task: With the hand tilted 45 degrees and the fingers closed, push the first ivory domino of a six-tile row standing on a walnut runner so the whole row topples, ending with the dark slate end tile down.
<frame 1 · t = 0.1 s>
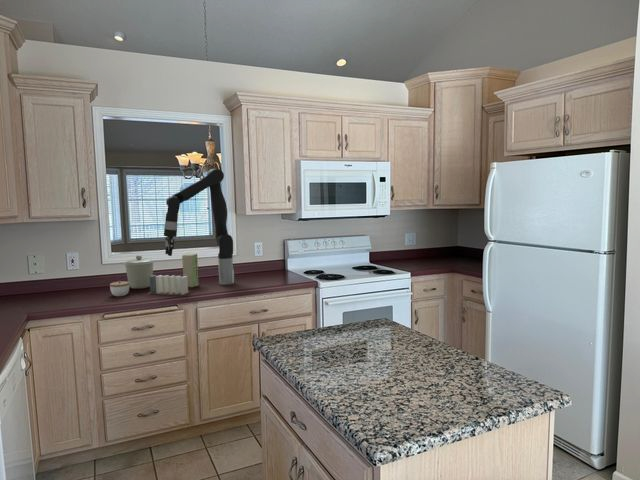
hand: (168, 254, 278), 22 cm above the counter, tool pointing down, fingers open, 8 cm apart
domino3: (172, 292, 271), point 1 cm above the counter, touching runner
runner: (169, 293, 272), on the counter
domino1: (184, 293, 269), point 1 cm above the counter, touching runner
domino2: (178, 292, 270), point 1 cm above the counter, touching runner
lidded jar: (120, 296, 268), on the counter
canister: (140, 287, 291), on the counter
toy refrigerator: (191, 286, 291), on the counter
domino6: (154, 291, 275), point 1 cm above the counter, touching runner
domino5: (160, 292, 274), point 1 cm above the counter, touching runner
domino4: (166, 292, 273), point 1 cm above the counter, touching runner
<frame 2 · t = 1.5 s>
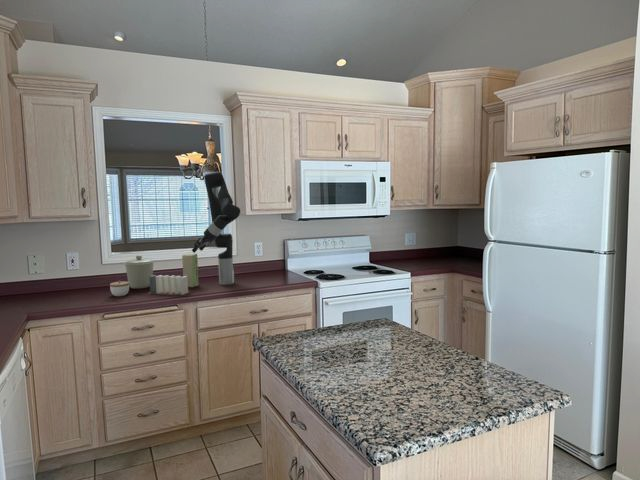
hand: (196, 250, 264), 27 cm above the counter, tool tilted 45°, fingers open, 7 cm apart
nothing on the counter moved.
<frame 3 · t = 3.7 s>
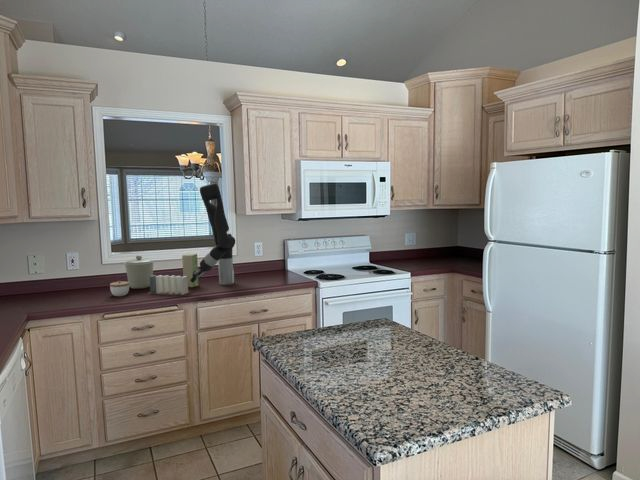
hand: (191, 281, 267), 8 cm above the counter, tool tilted 45°, fingers closed
nothing on the counter moved.
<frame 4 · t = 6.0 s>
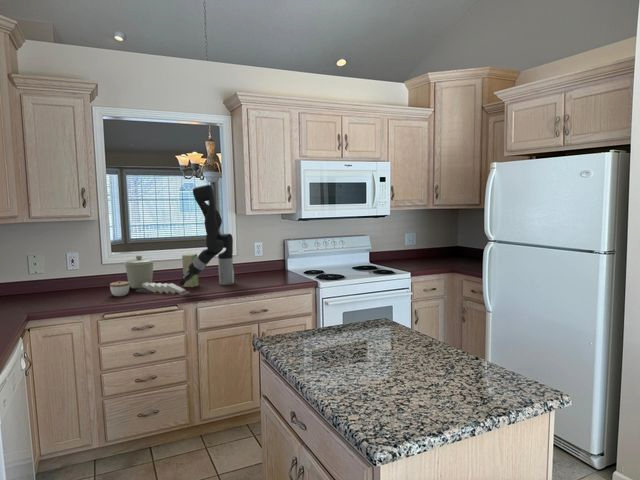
hand: (181, 284, 269), 6 cm above the counter, tool tilted 45°, fingers closed
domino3: (170, 291, 272), point 1 cm above the counter, tilted 68°, touching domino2, domino4, runner
domino1: (182, 291, 270), point 1 cm above the counter, tilted 68°, touching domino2
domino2: (176, 291, 271), point 1 cm above the counter, tilted 68°, touching domino1, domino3, runner
domino6: (152, 290, 275), point 1 cm above the counter, tilted 94°, touching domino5, runner
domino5: (158, 290, 274), point 1 cm above the counter, tilted 68°, touching domino4, domino6
domino4: (164, 291, 273), point 1 cm above the counter, tilted 68°, touching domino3, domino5, runner
everything else where it was.
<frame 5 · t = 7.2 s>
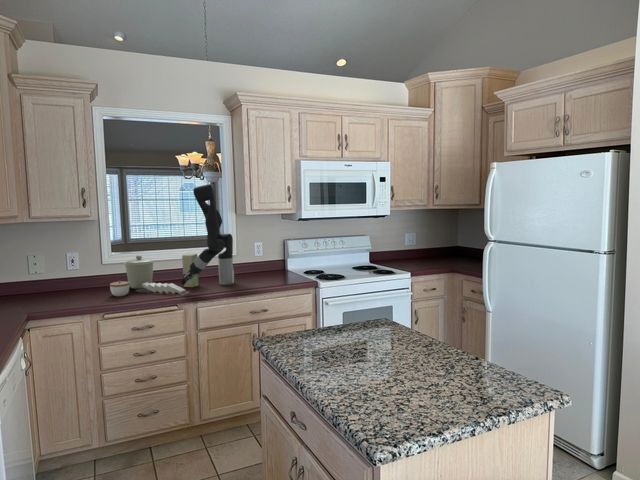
hand: (182, 283, 269), 6 cm above the counter, tool tilted 45°, fingers closed
nothing on the counter moved.
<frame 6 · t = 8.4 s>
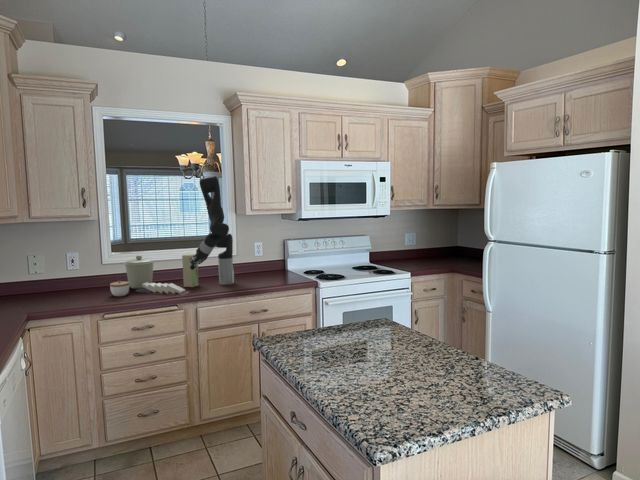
hand: (191, 268, 269), 15 cm above the counter, tool tilted 45°, fingers closed
nothing on the counter moved.
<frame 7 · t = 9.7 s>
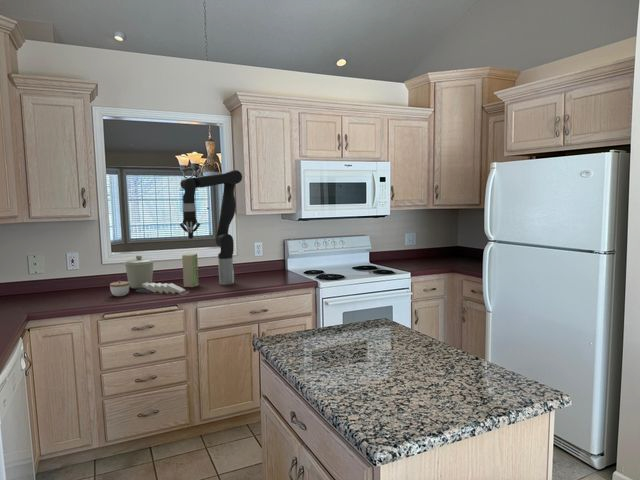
hand: (190, 238, 280), 32 cm above the counter, tool pointing down, fingers closed
nothing on the counter moved.
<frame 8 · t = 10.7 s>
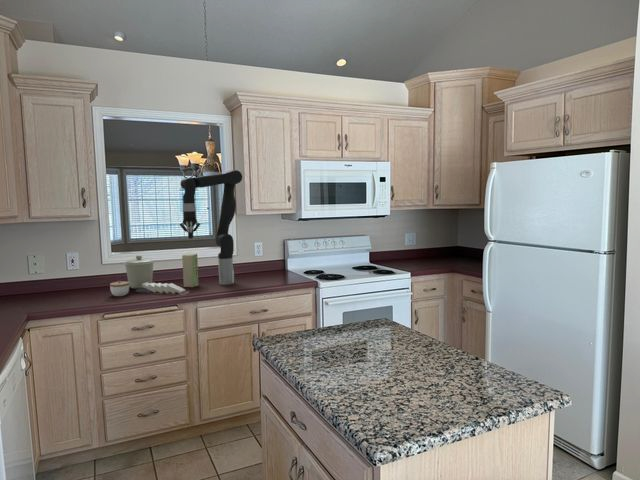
hand: (190, 238, 280), 32 cm above the counter, tool pointing down, fingers closed
nothing on the counter moved.
at the end: domino6 tilted 94°; domino1 tilted 68° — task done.
